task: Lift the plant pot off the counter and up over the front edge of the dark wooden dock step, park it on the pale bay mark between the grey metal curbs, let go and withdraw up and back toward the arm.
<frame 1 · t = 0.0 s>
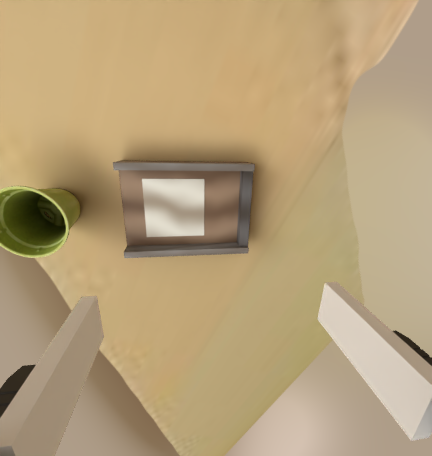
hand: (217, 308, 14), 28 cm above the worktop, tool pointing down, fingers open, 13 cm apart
plant pot: (61, 206, 37), on the worktop
dock: (187, 205, 40), on the worktop
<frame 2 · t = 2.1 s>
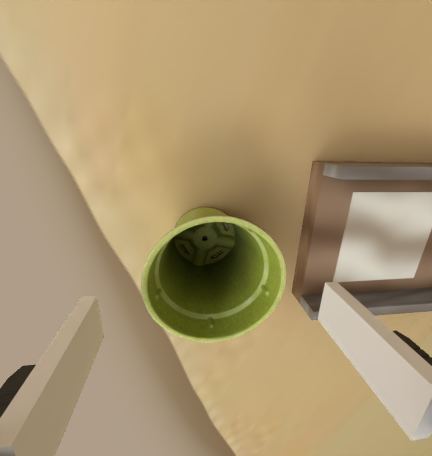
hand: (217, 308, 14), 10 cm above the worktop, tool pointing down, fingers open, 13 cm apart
plant pot: (205, 235, 23), on the worktop
dock: (387, 231, 26), on the worktop
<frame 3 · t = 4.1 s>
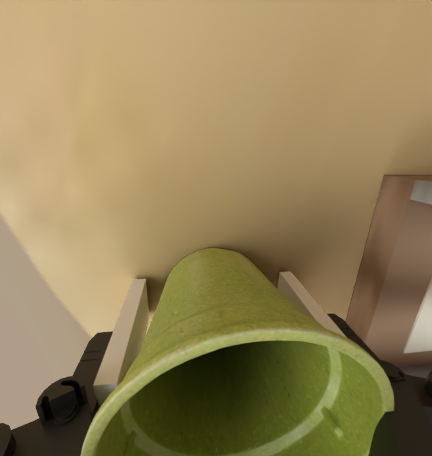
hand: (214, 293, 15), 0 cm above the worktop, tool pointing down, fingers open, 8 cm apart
plant pot: (213, 286, 15), on the worktop, touching gripper
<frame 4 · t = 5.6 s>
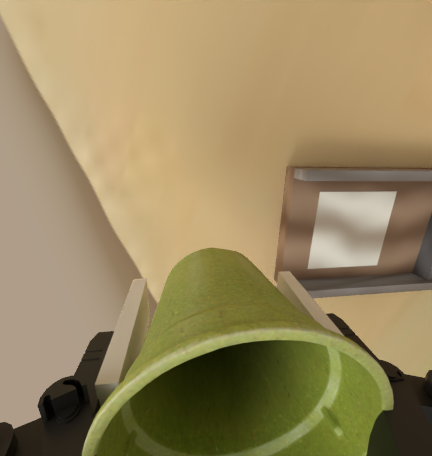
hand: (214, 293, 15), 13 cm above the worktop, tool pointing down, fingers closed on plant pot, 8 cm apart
plant pot: (213, 286, 15), point 13 cm above the worktop, touching gripper
dock: (354, 225, 30), on the worktop
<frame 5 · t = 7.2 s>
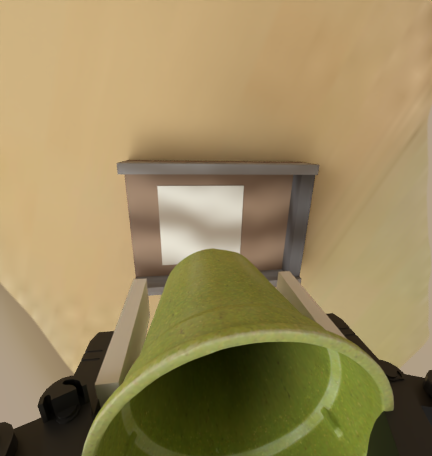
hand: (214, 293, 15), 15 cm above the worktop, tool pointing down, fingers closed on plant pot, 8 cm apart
plant pot: (213, 287, 15), point 15 cm above the worktop, touching gripper
dock: (216, 220, 29), on the worktop
when the fingers open (3 cm above the worktop, at t = 9.8 s): plant pot moves 1 cm, resting on dock.
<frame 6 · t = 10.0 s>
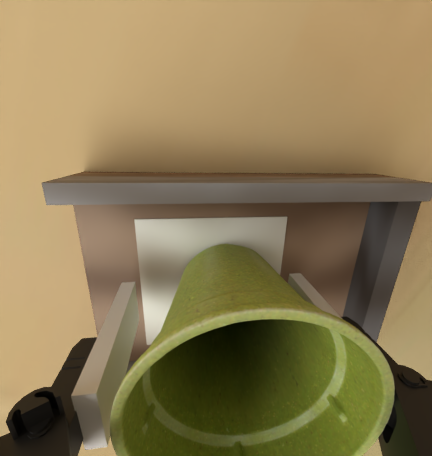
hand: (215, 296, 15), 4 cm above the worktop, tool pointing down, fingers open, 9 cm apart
plant pot: (227, 281, 16), point 2 cm above the worktop, touching dock, gripper
dock: (235, 268, 18), on the worktop
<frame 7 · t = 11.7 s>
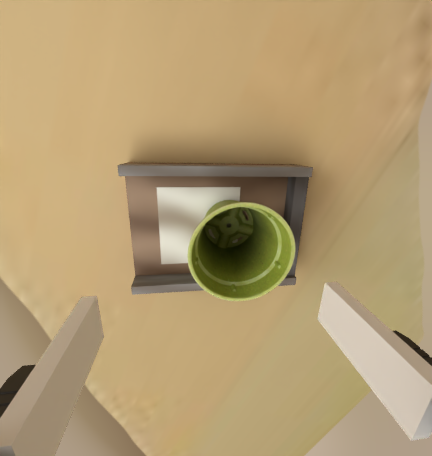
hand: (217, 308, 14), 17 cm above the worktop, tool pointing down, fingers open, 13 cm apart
plant pot: (228, 223, 28), point 2 cm above the worktop, touching dock
dock: (213, 221, 30), on the worktop
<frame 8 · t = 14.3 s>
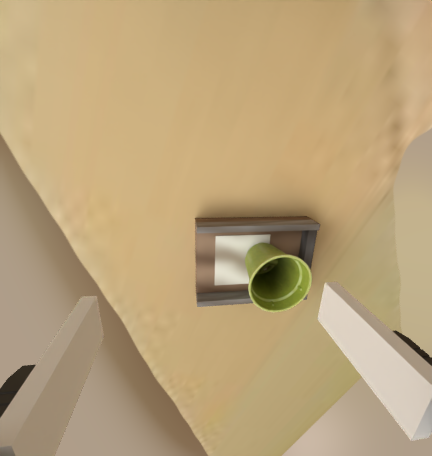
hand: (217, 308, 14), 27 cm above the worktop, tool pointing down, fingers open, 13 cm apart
plant pot: (261, 257, 41), point 2 cm above the worktop, touching dock
dock: (249, 254, 43), on the worktop
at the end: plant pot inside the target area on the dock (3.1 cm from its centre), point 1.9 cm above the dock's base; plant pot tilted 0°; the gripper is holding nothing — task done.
